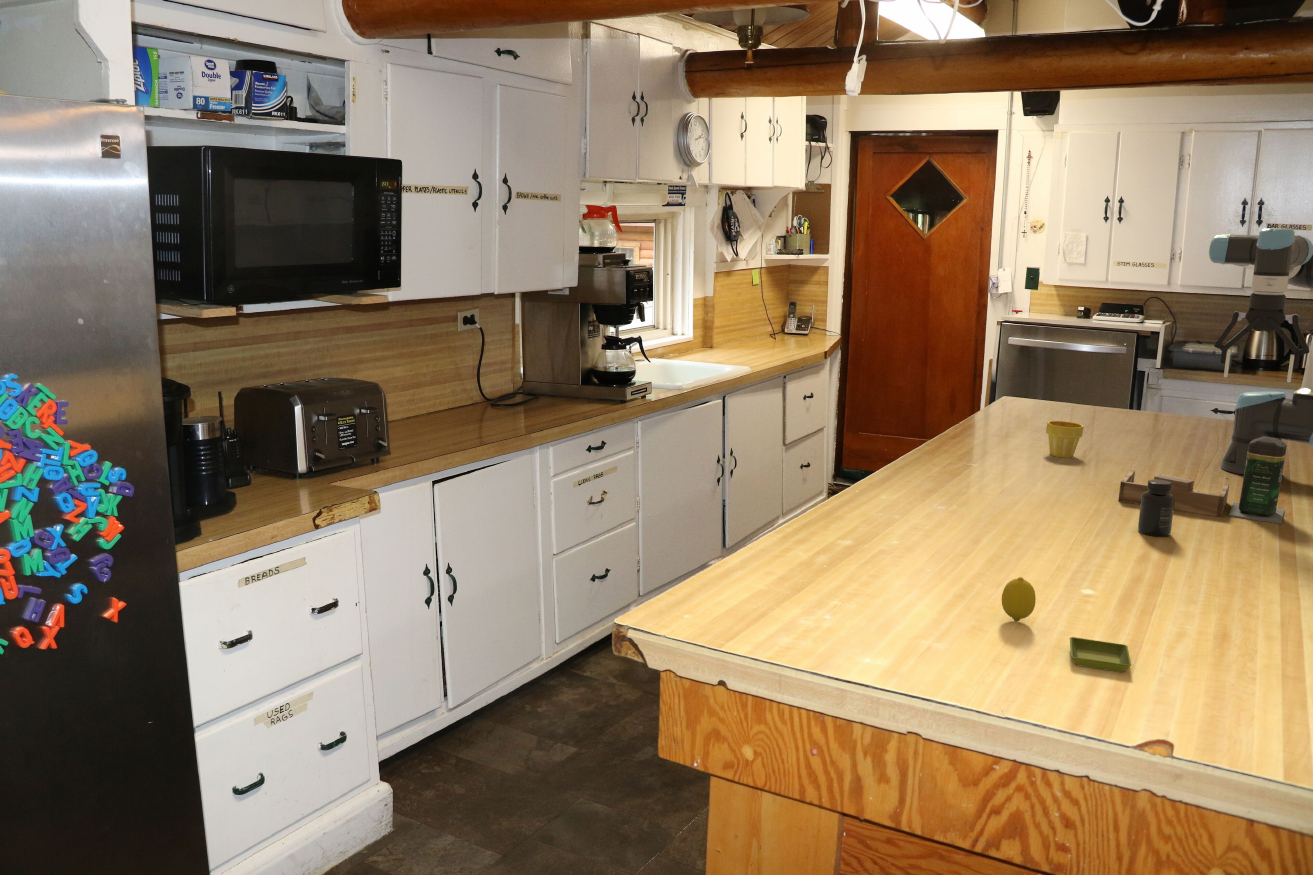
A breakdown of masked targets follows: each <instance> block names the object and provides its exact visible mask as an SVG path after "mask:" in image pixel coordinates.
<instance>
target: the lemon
mask: <svg viewBox="0 0 1313 875" xmlns="http://www.w3.org/2000/svg"><path fill="white" fill-rule="evenodd" d="M1036 600H1037V599H1036V591H1035V588H1034V586H1033V585H1032V584H1031V583H1030V582H1029V581H1028V580H1025V579H1024V578H1023V576H1022V577H1021V576H1019V577H1017V578H1014V579H1012V580H1010V581H1009V582H1007V583H1006V585H1005V586H1004V588H1003V590H1002V594H1001V606H1002V610H1003V611H1004V612H1005V614H1006V615H1008V616H1009V617H1010V618H1012V619H1013V621H1014V622H1019V621H1020V620H1023V619H1026V618H1028V617H1029V616H1030V615H1031V614H1032V613H1033V612H1034V609H1035V606H1036Z"/></svg>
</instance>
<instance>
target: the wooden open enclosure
mask: <svg viewBox="0 0 1313 875" xmlns="http://www.w3.org/2000/svg"><path fill="white" fill-rule="evenodd" d="M1135 475H1136V470H1133V469H1130V470H1129V472H1128V473H1127V474H1126V475H1125V476H1124V477H1123V479H1122V480H1121V481H1120V483H1119V484H1120V485H1119V494H1118V502H1123V503H1130V504H1136V505H1141V497H1142V494H1143V493H1144V492H1146V491H1148V489H1147V486H1148V484H1145V483H1136V482H1135ZM1229 489H1230V483H1228V482H1225V483H1224V484H1223V486H1222V489H1221V491H1220V493H1219V494H1212V493H1206V492H1200V491H1199V492H1193V491H1186V490H1179V489H1173V488H1171V491H1170V494H1172V495H1173V496H1174V499H1175V502H1174V510H1175V511H1181V512H1187V513H1195V514H1200V515H1207V516H1212V517H1218V518H1221V517H1222V515H1223V513H1224V510H1225V507H1226V505H1227V502H1228V497H1229Z"/></svg>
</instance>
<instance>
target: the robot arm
mask: <svg viewBox="0 0 1313 875" xmlns="http://www.w3.org/2000/svg"><path fill="white" fill-rule="evenodd" d="M1295 233H1296V232H1295V230H1294V229H1293V228H1277V227H1276V228H1274V227H1273V228H1268V227H1267V228H1262V229H1261V230H1260V231H1259V233H1258V234H1256V235H1255V234H1253V235H1251V234H1231V233H1227V234H1217V235H1215V236H1214V237H1212V239H1211V242H1210V244H1209V249H1208V256H1209V257H1208V258H1209V260H1210V261H1211V262H1212V263H1213V264H1220V265H1234V266H1239V267H1242V268H1245V269H1248V270H1252V271H1253V274H1252V279H1251V280H1252V281H1251V291H1252V292H1253V293H1252V292H1251V294H1250V296H1249V304H1248V309H1247V310H1248V311H1247V312H1240V311H1239V310H1235V311H1234V313H1233V315H1232V318H1231V321H1230V322H1229V324H1227V326H1226V328H1225V329H1224V330H1223V332H1222V333H1221V335H1220V336H1219V338H1217V340H1216V341H1215V343H1214V348H1215V349H1219V350H1220V351H1221V354H1220V363H1221V364H1224V371H1223V372H1224V373H1223V378H1228V375H1229V369H1230V368H1229V367H1230V362H1231V361H1230V360H1231V353H1232V350H1230V348H1231V347H1233V346H1234V345H1235V344H1236V343H1237V342H1238V341H1239V340H1240V339H1242V338H1243V337H1244V336H1245V335H1246V334H1247V333H1249V332H1250V331H1251V330H1253V331H1256V332H1263V331H1264V332H1265V333H1271V332H1273V331H1275V332H1276V333H1277V334H1278V335H1279V337H1280V338H1281V339H1282V341H1283V342H1284V343H1285V344H1286V345H1287V347H1288V348H1289V349H1290V351H1292V353H1293V354H1290V357H1289V358H1290V359H1289V366H1288V372H1287V378H1286V383H1291V382H1292V375H1293V369H1295V370H1297V369H1298V368H1299V366H1300V358H1301V356H1302V355H1307V354H1308V356H1307V360H1306V364H1305V369H1304V374H1303V378H1302V384H1301V386H1300V388H1298V389H1297V390H1295V391H1294V392H1293V393H1292V397H1291V398H1286V397H1287V395H1286V392H1281V391H1261V390H1260V391H1247V392H1242V393H1241V394H1239V395H1238V397H1237V402H1236V405H1235V407H1234V410H1235V411H1234V417H1233V426H1232V432H1231V440H1230V443H1229V445H1228V447H1227V448H1226V450H1225V453H1224V454H1223V456H1222V458H1221V461H1220V469H1222V470H1224V471H1227V472H1230V473H1234V474H1239V475H1243V476H1244V472H1245V465H1246V459H1247V452H1248V447H1249V445H1248V444H1249V443H1250V442H1251V441H1252V440H1254V439H1257V438H1260V437H1262V436H1265V437H1273V438H1279V439H1281V440H1282V441H1286V442H1294V443H1299V444H1307V445H1310V446H1313V336H1312V337H1311V342H1310V346H1309V345H1308V342H1307V341H1306V339H1305V336H1304V334H1303V331H1302V329H1301V327H1300V325H1299V315H1298V314H1297V313H1294V314H1285V308H1286V300H1287V296H1286V294H1284V293H1287V292H1288V287H1289V285H1290V286H1294V287H1297V288H1303V289H1311V290H1312V289H1313V243H1312V241H1311V239H1309V238H1308V237H1305V236H1302V235H1299V234H1298V235H1297V234H1296V235H1295ZM1243 318H1244V319H1245V320H1246V322H1248V324H1246V325H1245V326H1244V328H1243V329H1241V330H1240V331H1239V332H1238V333H1236V335H1235V336H1233V337H1232V338H1231V339H1229V340H1228V341H1227V342H1226V343H1225V344H1224V343H1223V342H1224V341H1225V339H1226V338H1227V337H1228V335H1229V334H1230V332H1231V331H1232V329H1234V327H1235V326H1236V324H1237V323H1238V322H1240V321H1242V320H1243ZM1285 320H1287V321H1288V324H1290V325H1292V328H1293V330H1294V332H1295V335H1296V337H1297V340H1298V341H1299V344H1300V347H1301V348H1298V346H1297V345H1296V344H1295V343H1294V342H1293V340H1292V338H1290V336H1289V335H1288V334H1287V333H1286V331H1285V330H1284V328H1282V326H1281V324H1282V323H1283V322H1284V321H1285Z"/></svg>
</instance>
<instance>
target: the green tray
mask: <svg viewBox="0 0 1313 875" xmlns="http://www.w3.org/2000/svg"><path fill="white" fill-rule="evenodd" d="M1069 648H1070V649H1069V650H1070V657H1071V660H1072V661H1073V662H1074V664H1075V665H1077V666H1078V665H1079V667H1085V666H1086V668H1091V667H1092V668H1091V669H1099V670H1104V669H1105V671H1110V670H1112V671H1111V672H1117V671H1118V672H1117V673H1123V672H1125V671H1127V670H1128V669H1129V668H1131V667H1132V661H1131V656H1130V653H1129V652H1130V651H1129V647H1128V645H1127V644H1122V643H1116V642H1108V641H1101V640H1095V639H1089V638H1082V637H1075V636H1071V637H1069ZM1119 671H1120V672H1119Z"/></svg>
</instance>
